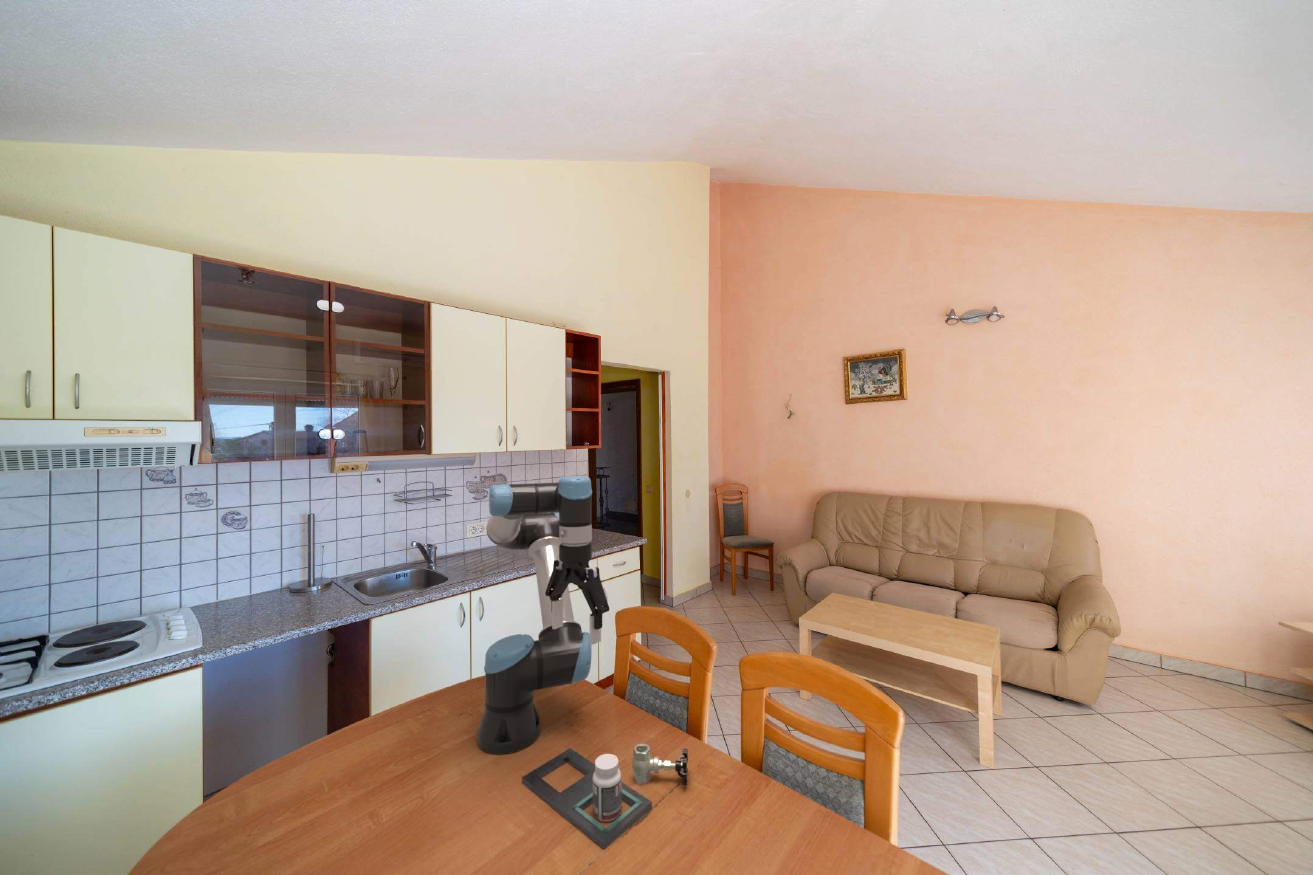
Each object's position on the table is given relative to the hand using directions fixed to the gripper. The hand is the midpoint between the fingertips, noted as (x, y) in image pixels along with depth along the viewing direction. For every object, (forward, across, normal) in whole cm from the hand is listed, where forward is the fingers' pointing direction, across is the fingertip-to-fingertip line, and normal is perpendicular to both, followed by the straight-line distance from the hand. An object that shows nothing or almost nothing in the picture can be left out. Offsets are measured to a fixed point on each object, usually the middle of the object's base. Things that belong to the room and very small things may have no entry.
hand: (575, 634), depth 111 cm
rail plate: (+29, +10, -6) cm, 31 cm away
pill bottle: (+29, +17, -6) cm, 34 cm away
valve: (+29, +19, +8) cm, 35 cm away
